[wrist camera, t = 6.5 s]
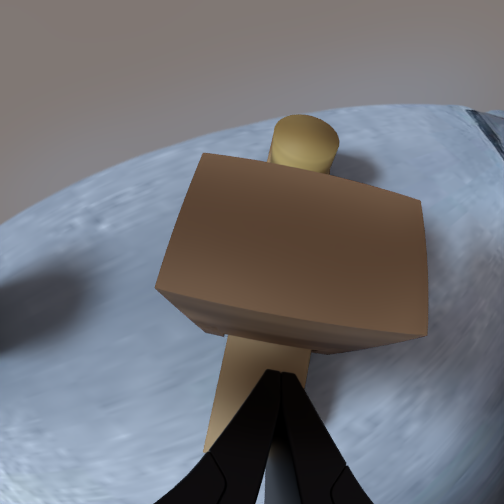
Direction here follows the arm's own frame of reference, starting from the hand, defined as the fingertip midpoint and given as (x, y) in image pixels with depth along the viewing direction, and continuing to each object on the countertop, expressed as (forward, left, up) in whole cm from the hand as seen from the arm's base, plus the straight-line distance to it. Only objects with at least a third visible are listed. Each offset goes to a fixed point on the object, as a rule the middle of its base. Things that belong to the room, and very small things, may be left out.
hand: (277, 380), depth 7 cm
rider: (+2, -3, -6) cm, 7 cm away
